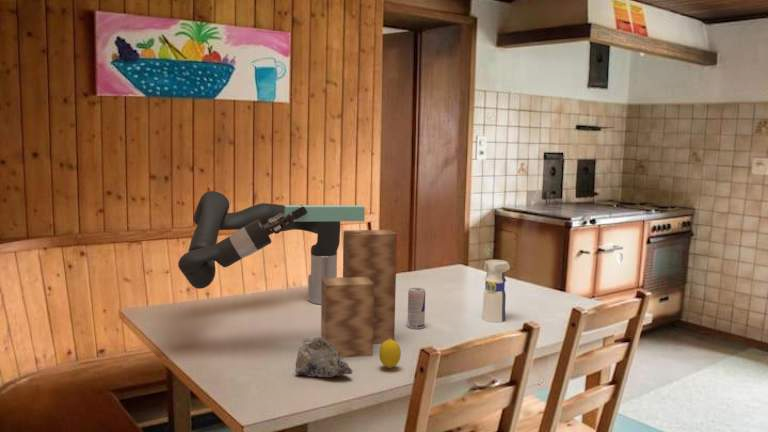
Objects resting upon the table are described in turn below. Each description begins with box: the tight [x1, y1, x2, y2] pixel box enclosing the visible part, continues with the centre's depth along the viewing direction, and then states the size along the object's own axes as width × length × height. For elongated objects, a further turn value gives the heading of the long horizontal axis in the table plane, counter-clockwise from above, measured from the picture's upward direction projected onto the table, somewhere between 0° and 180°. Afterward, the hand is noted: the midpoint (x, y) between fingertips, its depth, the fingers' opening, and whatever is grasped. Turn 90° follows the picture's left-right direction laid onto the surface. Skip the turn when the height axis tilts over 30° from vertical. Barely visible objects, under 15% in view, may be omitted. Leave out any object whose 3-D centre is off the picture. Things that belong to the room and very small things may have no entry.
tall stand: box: [342, 229, 398, 345], centre depth 191 cm, size 14×8×32 cm, turn 103°
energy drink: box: [406, 287, 426, 330], centre depth 206 cm, size 5×5×12 cm
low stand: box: [320, 276, 374, 358], centre depth 181 cm, size 13×9×20 cm
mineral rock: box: [294, 336, 354, 378], centre depth 163 cm, size 13×11×10 cm
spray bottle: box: [481, 245, 511, 323], centre depth 216 cm, size 8×9×25 cm
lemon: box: [378, 339, 402, 370], centre depth 170 cm, size 6×6×8 cm
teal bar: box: [284, 204, 366, 222], centre depth 184 cm, size 22×4×4 cm, turn 103°
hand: (304, 208), depth 183 cm, fingers closed on teal bar, 4 cm apart
